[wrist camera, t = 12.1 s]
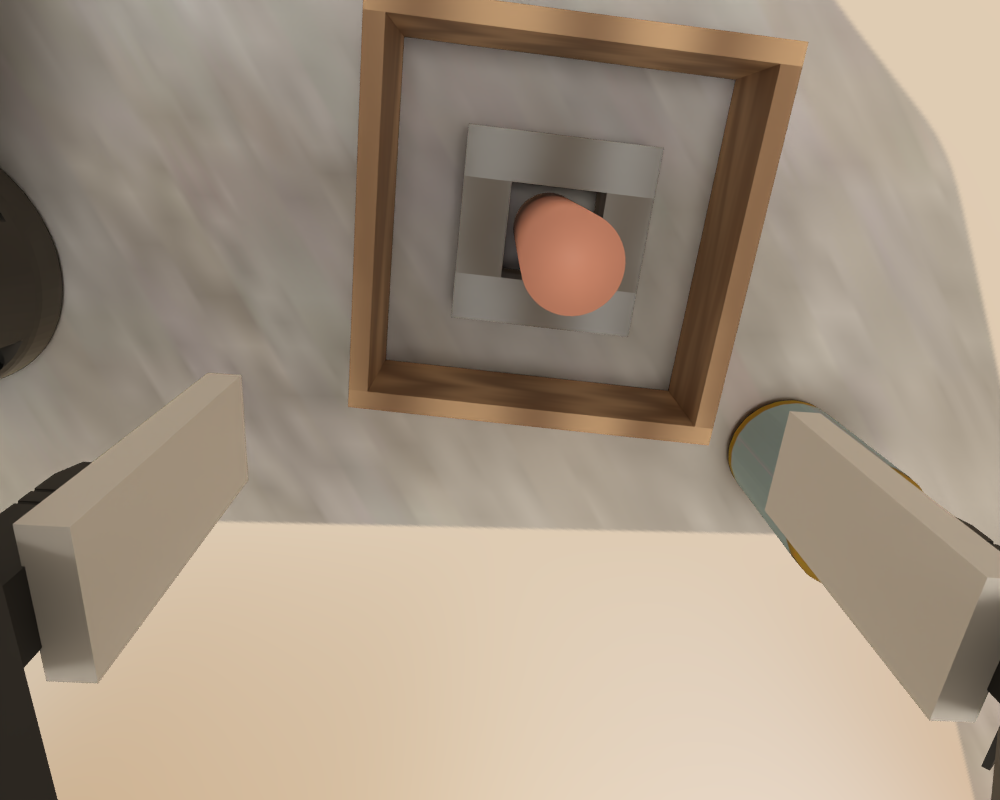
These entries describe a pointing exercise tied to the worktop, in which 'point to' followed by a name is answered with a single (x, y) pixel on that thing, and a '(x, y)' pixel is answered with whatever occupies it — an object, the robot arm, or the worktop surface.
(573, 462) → the worktop surface
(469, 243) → the crate
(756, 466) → the bottle
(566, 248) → the peg
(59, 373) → the worktop surface
